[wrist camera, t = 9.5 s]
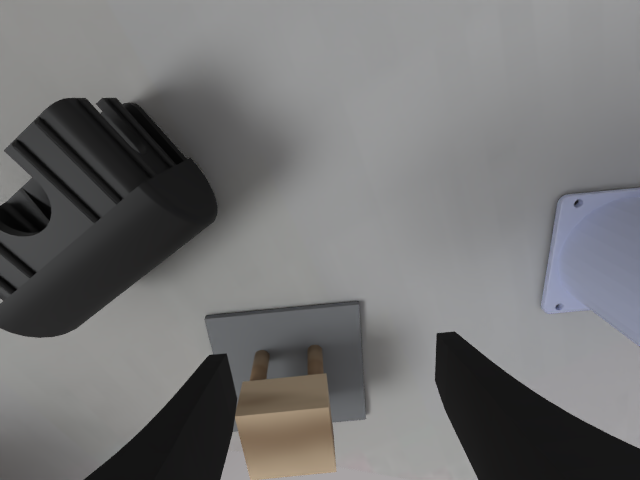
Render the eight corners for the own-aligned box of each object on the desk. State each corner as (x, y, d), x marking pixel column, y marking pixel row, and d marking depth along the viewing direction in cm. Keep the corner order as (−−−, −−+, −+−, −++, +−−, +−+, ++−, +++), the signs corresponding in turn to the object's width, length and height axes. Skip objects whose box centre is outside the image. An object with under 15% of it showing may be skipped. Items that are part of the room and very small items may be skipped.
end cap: (114, 291, 23) (40, 365, 16) (17, 205, 21) (-111, 253, 14) (232, 198, 21) (200, 241, 14) (140, 91, 19) (53, 89, 12)
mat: (358, 301, 23) (359, 304, 23) (365, 414, 27) (365, 419, 27) (206, 315, 23) (204, 319, 23) (233, 427, 27) (232, 431, 27)
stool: (330, 398, 26) (336, 471, 21) (261, 404, 26) (250, 480, 21) (324, 341, 24) (328, 407, 19) (250, 348, 24) (234, 416, 19)
